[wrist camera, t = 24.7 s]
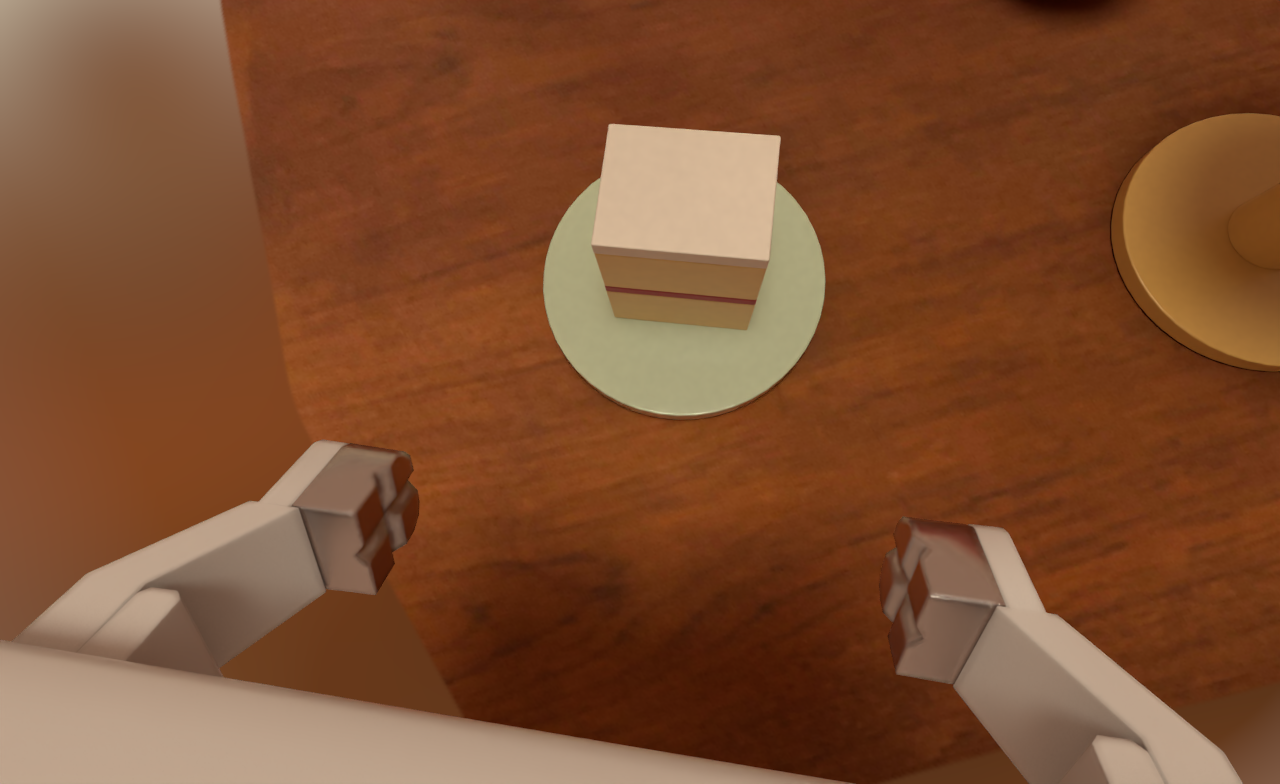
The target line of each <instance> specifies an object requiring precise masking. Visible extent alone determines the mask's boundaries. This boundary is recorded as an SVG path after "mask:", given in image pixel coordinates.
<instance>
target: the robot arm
mask: <svg viewBox="0 0 1280 784" xmlns="http://www.w3.org/2000/svg"><path fill="white" fill-rule="evenodd" d="M413 471H414V470H413V465H412V461H411V457H410V455H409V454H407V453H406V452H404V451H397V450H391V449H385V448H378V447H372V446H365V445H359V444H352V443H350V444H347V443H342V442H335V441H329V440H320V441H317V442H315V443H313V444H312V445H311V446H310V447H309V448H308V450H307V451H306V452H305V453H304V454H303V455H302V456H301V457H300V458H299V459H298V460H297V461H296V462H295V463H294V465H293V466H292V467H291V468H290V469H289V470H288V471H287V472H286V473H285V474H284V475H283V476H282V478H280V480H279V481H278V482H277V483H276V484H275V485H274V486H273V487H272V488H271V489H270V490H269V491H268V492H267V493H266V495H265V496H264V497H263V498H262V499H261V500H260V501H259V502H255V501H248V502H246V503H244V504H242V505H239V506H237V507H235V508H233V509H230V510H228V511H226V512H224V513H221V514H219V515H217V516H215V517H213V518H210V519H208V520H206V521H204V522H201V523H199V524H197V525H195V526H192V527H190V528H188V529H186V530H183V531H181V532H179V533H177V534H175V535H172V536H170V537H168V538H166V539H163V540H161V541H159V542H157V543H155V544H152V545H150V546H148V547H146V548H143V549H141V550H139V551H137V552H134V553H132V554H130V555H128V556H125V557H123V558H121V559H119V560H116V561H114V562H112V563H110V564H107V565H105V566H103V567H101V568H98V569H96V570H94V571H92V572H89V573H87V574H86V575H85V576H84V577H82V578H81V579H80V580H79V581H78V582H77V583H76V584H75V585H74V586H72V587H71V588H70V589H69V590H68V591H67V592H66V593H65V594H63V595H62V597H60V598H59V599H58V600H57V601H56V602H55V603H54V604H53V605H51V606H50V607H49V608H48V609H47V610H46V611H45V612H44V613H42V614H41V615H40V616H39V617H38V618H37V619H36V620H35V621H34V622H33V623H31V624H30V625H29V626H28V627H27V628H26V629H25V630H24V631H23V632H22V633H20V634H19V635H18V636H17V637H16V638H15V639H14V640H13V641H12V642H10V641H4V640H0V784H854V783H848V782H842V781H836V780H830V779H824V778H818V777H812V776H806V775H800V774H794V773H788V772H782V771H776V770H770V769H764V768H758V767H752V766H746V765H740V764H734V763H728V762H722V761H716V760H710V759H704V758H698V757H692V756H686V755H680V754H674V753H668V752H662V751H656V750H650V749H644V748H638V747H633V746H627V745H621V744H615V743H609V742H603V741H597V740H591V739H585V738H579V737H573V736H567V735H562V734H556V733H550V732H544V731H538V730H532V729H526V728H520V727H514V726H508V725H503V724H497V723H491V722H485V721H479V720H473V719H467V718H461V717H455V716H449V715H443V714H438V713H431V712H426V711H420V710H413V709H408V708H401V707H396V706H390V705H383V704H378V703H372V702H366V701H360V700H354V699H348V698H342V697H337V696H331V695H324V694H319V693H313V692H306V691H300V690H295V689H289V688H282V687H277V686H271V685H265V684H259V683H254V682H247V681H242V680H236V679H230V678H224V677H223V675H222V673H221V671H220V669H219V668H220V667H221V666H223V665H224V664H226V663H227V662H228V661H230V660H231V659H232V658H234V657H235V656H237V655H238V654H239V653H241V652H242V651H244V650H245V649H247V648H248V647H249V646H251V645H252V644H254V643H255V642H256V641H258V640H259V639H261V638H262V637H263V636H265V635H266V634H267V633H269V632H270V631H272V630H273V629H275V628H276V627H277V626H279V625H280V624H282V623H283V622H284V621H286V620H287V619H289V618H290V617H291V616H293V615H294V614H296V613H297V612H298V611H300V610H301V609H303V608H304V607H305V606H307V605H308V604H310V603H311V602H312V601H314V600H315V599H317V598H318V597H319V596H321V595H322V594H323V593H325V592H326V589H333V590H340V591H348V592H357V593H365V594H373V595H376V594H377V592H378V591H379V589H380V587H381V586H382V584H383V582H384V581H385V579H386V577H387V576H388V574H389V572H390V571H391V569H392V567H393V566H394V564H395V563H394V558H393V554H392V552H393V551H395V550H397V549H398V548H400V547H402V546H404V545H405V544H407V542H408V541H409V539H410V537H411V535H412V534H413V532H414V530H415V526H416V523H417V519H418V516H419V496H418V490H417V489H416V488H415V487H414V486H413V485H412V484H411V483H410V482H409V481H408V478H409V477H410V475H411V474H412V472H413ZM893 535H894V539H895V543H896V548H894V549H893V550H891V551H889V552H888V553H886V555H885V558H884V561H883V564H882V567H881V574H880V583H879V590H880V601H881V606H882V611H883V613H884V614H885V615H886V616H887V617H888V618H889V619H890V620H891V621H892V623H893V624H892V627H891V629H890V632H889V634H888V640H889V645H890V649H891V654H892V658H893V663H894V667H895V672H896V674H898V675H904V676H909V677H915V678H921V679H926V680H932V681H937V682H943V683H948V684H954V686H953V688H954V689H955V690H956V692H957V693H958V694H959V695H960V697H961V698H962V699H963V700H964V702H965V703H966V704H967V706H968V707H969V708H970V709H971V711H972V712H973V713H974V714H975V716H976V717H977V718H978V720H979V721H980V722H981V723H982V725H983V726H984V727H985V728H986V730H987V731H988V732H989V734H990V735H991V736H992V737H993V739H994V740H995V741H996V742H997V744H998V745H999V746H1000V748H1001V749H1002V750H1003V751H1004V753H1005V754H1006V755H1007V756H1008V758H1009V759H1010V760H1011V762H1012V763H1013V764H1014V765H1015V767H1016V768H1017V769H1018V770H1019V772H1020V773H1021V774H1022V776H1023V777H1024V778H1025V779H1026V781H1027V782H1028V783H1029V784H1243V783H1242V781H1241V779H1240V778H1239V776H1238V774H1237V773H1236V771H1235V769H1234V768H1233V766H1232V765H1231V763H1230V761H1229V760H1228V758H1227V756H1226V755H1225V753H1224V752H1223V751H1222V750H1221V749H1219V748H1218V747H1217V746H1216V745H1215V744H1213V743H1212V742H1211V741H1209V740H1208V739H1207V738H1206V737H1205V736H1204V735H1202V734H1201V733H1200V732H1199V731H1198V730H1196V729H1195V728H1194V727H1193V726H1191V725H1190V724H1189V723H1188V722H1187V721H1185V720H1184V719H1183V718H1182V717H1181V716H1179V715H1178V714H1177V713H1176V712H1175V711H1173V710H1172V709H1171V708H1170V707H1168V706H1167V705H1166V704H1165V703H1164V702H1162V701H1161V700H1160V699H1159V698H1158V697H1156V696H1155V695H1154V694H1153V693H1152V692H1150V691H1149V690H1148V689H1147V688H1145V687H1144V686H1143V685H1142V684H1141V683H1139V682H1138V681H1137V680H1136V679H1135V678H1133V677H1132V676H1131V675H1130V674H1129V673H1127V672H1126V671H1125V670H1124V669H1122V668H1121V667H1120V666H1119V665H1118V664H1116V663H1115V662H1114V661H1113V660H1112V659H1110V658H1109V657H1108V656H1107V655H1106V654H1104V653H1103V652H1102V651H1101V650H1099V649H1098V648H1097V647H1096V646H1095V645H1093V644H1092V643H1091V642H1090V641H1089V640H1087V639H1086V638H1085V637H1084V636H1082V635H1081V634H1080V633H1079V632H1078V631H1076V630H1075V629H1074V628H1073V627H1072V626H1070V625H1069V624H1068V623H1067V622H1066V621H1064V620H1063V619H1062V618H1061V617H1059V616H1058V615H1057V614H1050V613H1046V611H1045V608H1044V606H1043V604H1042V602H1041V600H1040V598H1039V596H1038V594H1037V592H1036V590H1035V587H1034V585H1033V583H1032V581H1031V579H1030V577H1029V575H1028V573H1027V571H1026V569H1025V566H1024V564H1023V562H1022V560H1021V558H1020V556H1019V554H1018V552H1017V550H1016V548H1015V545H1014V543H1013V541H1012V539H1011V537H1010V535H1009V533H1008V532H1007V531H1006V530H1005V529H1003V528H999V527H991V526H982V525H973V524H968V525H966V524H960V523H952V522H944V521H936V520H928V519H920V518H912V517H902V518H901V519H900V520H899V521H898V523H897V525H896V528H895V531H894V533H893Z"/></svg>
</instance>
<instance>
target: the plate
mask: <svg viewBox="0 0 1280 784" xmlns="http://www.w3.org/2000/svg"><path fill="white" fill-rule="evenodd" d="M600 180H601V177H600V178H599V179H598V180H596V181H595V182H594V183H592V184H591V185H590V186H589V187H588V188H587V189H586V190H585V191H584V192H583V193H582V194H581V195H580V196H578V198H577V199H576V200H575V201H574V203H573V204H572V205H571V206H570V208H569V209H568V210H567V212H566V213H565V215H564V216H563V218H562V220H561V221H560V223H559V225H558V227H557V229H556V231H555V233H554V235H553V238H552V240H551V243H550V246H549V250H548V253H547V256H546V262H545V268H544V278H543V293H544V302H545V309H546V313H547V317H548V321H549V324H550V327H551V330H552V332H553V334H554V337H555V339H556V341H557V343H558V345H559V347H560V348H561V350H562V352H563V353H564V355H565V357H566V358H567V360H568V361H569V362H570V364H571V365H572V366H573V367H574V369H575V370H576V371H577V372H578V374H579V375H580V376H581V377H582V378H583V379H584V380H585V381H586V382H587V383H588V384H589V385H590V386H591V387H592V388H594V389H595V390H596V391H598V392H599V393H601V394H602V395H603V396H605V397H606V398H608V399H609V400H611V401H613V402H615V403H617V404H619V405H620V406H622V407H625V408H627V409H630V410H632V411H635V412H638V413H640V414H644V415H649V416H653V417H657V418H665V419H674V420H687V419H701V418H707V417H714V416H717V415H721V414H724V413H728V412H731V411H734V410H736V409H738V408H740V407H743V406H745V405H747V404H749V403H751V402H753V401H754V400H756V399H758V398H759V397H761V396H763V395H764V394H766V393H767V392H768V391H769V390H771V389H772V388H773V387H774V386H776V385H777V384H778V383H779V382H780V381H781V380H782V379H783V378H784V377H785V376H786V375H787V374H788V373H789V372H790V371H791V370H792V368H793V367H794V366H795V364H796V363H797V361H798V360H799V359H800V357H801V356H802V354H803V353H804V352H805V350H806V348H807V347H808V345H809V343H810V341H811V339H812V337H813V335H814V333H815V331H816V328H817V325H818V322H819V320H820V317H821V312H822V308H823V303H824V297H825V268H824V260H823V256H822V251H821V247H820V244H819V241H818V238H817V236H816V233H815V230H814V228H813V227H812V225H811V223H810V221H809V219H808V217H807V215H806V214H805V212H804V211H803V210H802V208H801V207H800V205H799V204H798V203H797V201H796V200H795V199H794V198H793V197H792V196H791V195H790V194H789V193H788V192H787V191H786V189H785V188H784V187H782V186H781V185H780V184H779V183H777V184H776V195H775V206H774V217H773V229H772V240H771V251H770V260H769V263H768V267H767V269H766V272H765V275H764V279H763V282H762V285H761V288H760V291H759V294H758V297H757V301H756V304H755V307H754V310H753V313H752V317H751V320H750V323H749V326H748V329H747V330H739V329H729V328H718V327H708V326H698V325H688V324H678V323H668V322H657V321H647V320H637V319H627V318H617V317H615V316H614V313H613V310H612V307H611V304H610V301H609V298H608V295H607V292H606V288H605V284H604V281H603V278H602V275H601V272H600V269H599V266H598V263H597V260H596V257H595V254H594V252H593V249H592V246H591V241H592V234H593V227H594V221H595V214H596V207H597V200H598V194H599V187H600Z"/></svg>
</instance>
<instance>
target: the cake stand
mask: <svg viewBox="0 0 1280 784" xmlns="http://www.w3.org/2000/svg"><path fill="white" fill-rule="evenodd" d="M1111 240H1112V246H1113V252H1114V257H1115V260H1116V263H1117V266H1118V269H1119V272H1120V274H1121V276H1122V279H1123V281H1124V283H1125V285H1126V287H1127V289H1128V290H1129V292H1130V293H1131V295H1132V296H1133V298H1134V299H1135V301H1136V303H1137V304H1138V305H1139V306H1140V307H1141V309H1142V310H1143V311H1144V312H1145V313H1146V315H1147V316H1148V317H1149V318H1150V319H1151V320H1152V321H1153V322H1154V323H1155V324H1156V325H1158V326H1159V327H1160V328H1161V329H1162V330H1163V331H1164V332H1166V333H1167V334H1168V335H1170V336H1171V337H1172V338H1174V339H1175V340H1176V341H1178V342H1179V343H1181V344H1183V345H1184V346H1186V347H1188V348H1190V349H1191V350H1193V351H1195V352H1197V353H1199V354H1201V355H1204V356H1206V357H1208V358H1210V359H1213V360H1216V361H1219V362H1222V363H1225V364H1228V365H1231V366H1236V367H1241V368H1245V369H1250V370H1260V371H1280V116H1275V115H1269V114H1255V113H1242V114H1228V115H1222V116H1216V117H1211V118H1208V119H1204V120H1201V121H1198V122H1195V123H1192V124H1190V125H1188V126H1185V127H1183V128H1181V129H1179V130H1177V131H1176V132H1174V133H1172V134H1171V135H1169V136H1167V137H1166V138H1165V139H1163V140H1162V141H1161V142H1160V143H1158V144H1157V145H1156V146H1155V147H1153V148H1152V149H1151V150H1150V151H1149V152H1147V153H1146V154H1145V155H1144V156H1142V158H1141V159H1140V160H1139V161H1138V162H1137V163H1136V164H1135V165H1134V166H1133V167H1132V169H1131V170H1130V172H1129V173H1128V175H1127V176H1126V178H1125V179H1124V181H1123V183H1122V185H1121V187H1120V190H1119V192H1118V194H1117V197H1116V201H1115V204H1114V208H1113V213H1112V221H1111Z"/></svg>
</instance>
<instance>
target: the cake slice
mask: <svg viewBox="0 0 1280 784" xmlns="http://www.w3.org/2000/svg"><path fill="white" fill-rule="evenodd" d="M780 140H781V137H780V136H774V135H760V134H746V133H732V132H718V131H704V130H690V129H676V128H661V127H647V126H633V125H619V124H609V126H608V133H607V140H606V146H605V153H604V160H603V167H602V173H601V180H600V187H599V194H598V200H597V207H596V214H595V221H594V227H593V234H592V241H591V246H592V249H593V252H594V254H595V257H596V260H597V263H598V266H599V269H600V272H601V275H602V278H603V281H604V284H605V288H606V292H607V295H608V298H609V301H610V304H611V307H612V310H613V313H614V316H615V317H617V318H627V319H637V320H647V321H657V322H668V323H678V324H688V325H698V326H708V327H718V328H729V329H739V330H747V329H748V326H749V323H750V320H751V317H752V313H753V310H754V307H755V304H756V301H757V297H758V294H759V291H760V288H761V285H762V282H763V279H764V275H765V272H766V269H767V267H768V263H769V260H770V251H771V240H772V229H773V217H774V206H775V195H776V184H777V173H778V162H779V151H780Z"/></svg>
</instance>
